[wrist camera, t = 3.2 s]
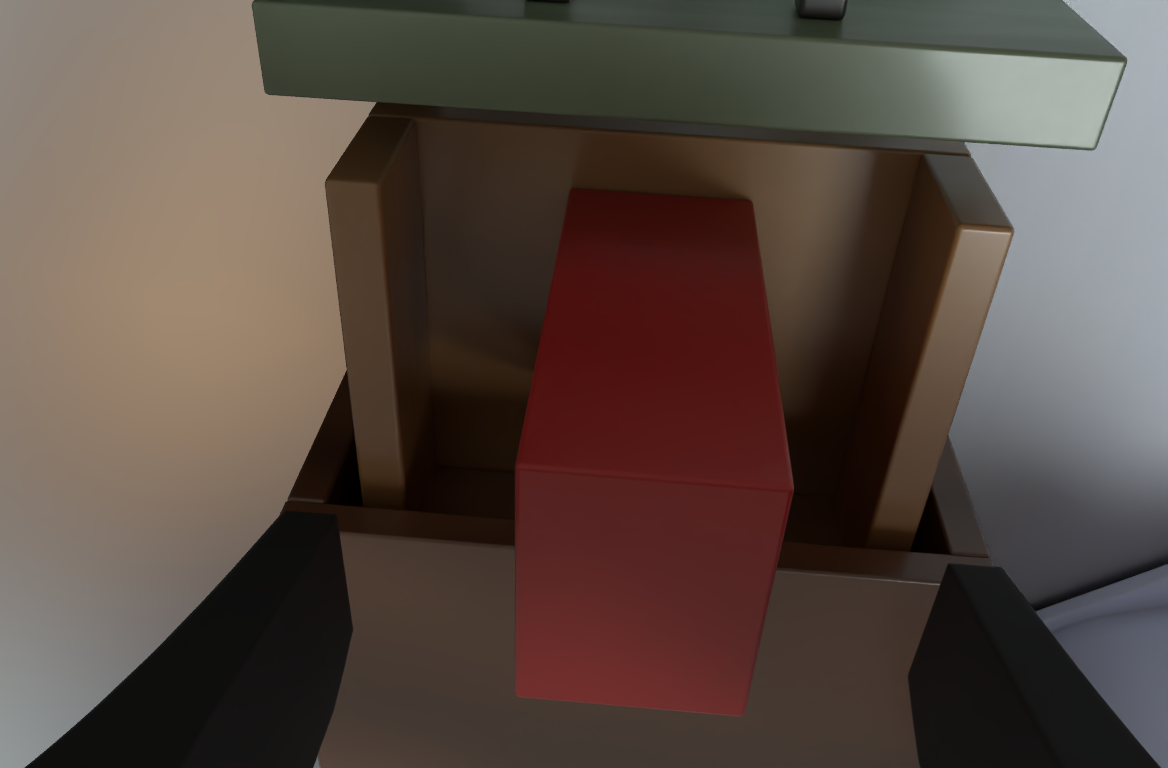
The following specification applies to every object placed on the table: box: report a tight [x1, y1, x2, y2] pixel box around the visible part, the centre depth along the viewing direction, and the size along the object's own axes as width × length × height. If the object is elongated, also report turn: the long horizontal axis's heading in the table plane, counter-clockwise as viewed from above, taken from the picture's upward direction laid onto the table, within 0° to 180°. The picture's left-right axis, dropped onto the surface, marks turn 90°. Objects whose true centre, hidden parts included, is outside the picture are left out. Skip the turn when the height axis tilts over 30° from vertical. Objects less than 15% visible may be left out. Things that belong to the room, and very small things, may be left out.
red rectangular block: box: [515, 188, 794, 716], centre depth 15 cm, size 4×3×7 cm
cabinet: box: [279, 371, 994, 768], centre depth 22 cm, size 11×12×5 cm
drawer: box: [252, 0, 1127, 552], centre depth 16 cm, size 15×11×4 cm
